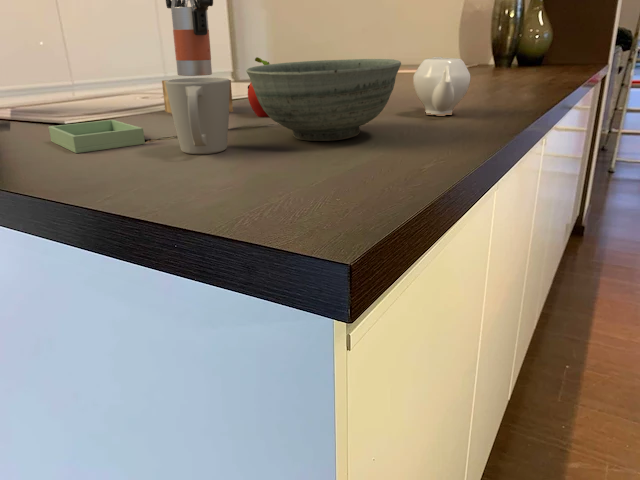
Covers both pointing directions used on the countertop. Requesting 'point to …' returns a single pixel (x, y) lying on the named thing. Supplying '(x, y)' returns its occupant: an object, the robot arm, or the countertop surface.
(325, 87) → the bowl
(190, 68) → the can
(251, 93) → the red bell pepper
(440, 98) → the teapot
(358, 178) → the countertop surface
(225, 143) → the cup
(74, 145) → the tray
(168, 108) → the holder
